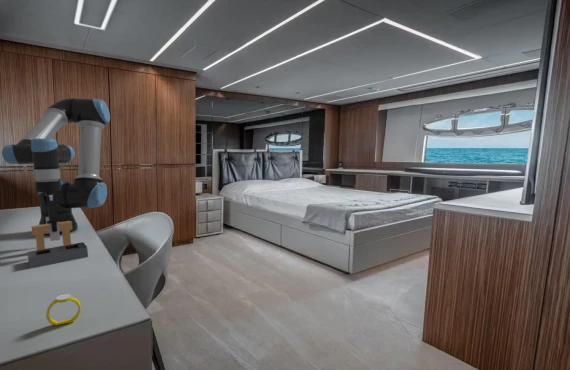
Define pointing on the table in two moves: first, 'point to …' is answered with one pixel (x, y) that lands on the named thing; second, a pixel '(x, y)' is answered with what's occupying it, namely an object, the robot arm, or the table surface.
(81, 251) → the slotted gray block
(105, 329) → the table surface
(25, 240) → the table surface
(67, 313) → the table surface
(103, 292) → the table surface
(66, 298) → the watch
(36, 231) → the notched wooden block
